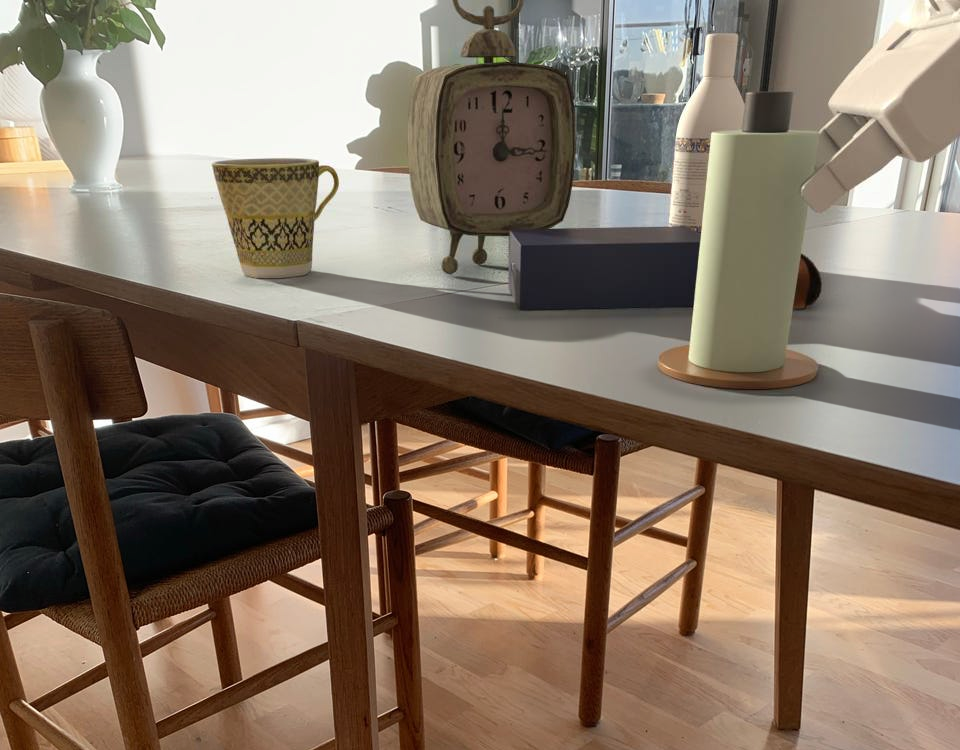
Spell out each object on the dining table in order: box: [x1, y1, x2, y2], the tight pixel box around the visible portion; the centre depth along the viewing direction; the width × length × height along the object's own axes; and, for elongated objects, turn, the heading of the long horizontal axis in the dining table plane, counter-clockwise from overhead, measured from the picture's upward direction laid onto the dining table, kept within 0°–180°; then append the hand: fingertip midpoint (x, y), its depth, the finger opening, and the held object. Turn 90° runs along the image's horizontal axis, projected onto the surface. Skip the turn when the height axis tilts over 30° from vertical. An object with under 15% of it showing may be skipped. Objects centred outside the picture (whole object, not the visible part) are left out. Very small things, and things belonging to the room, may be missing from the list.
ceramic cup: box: [211, 157, 340, 279], centre depth 93 cm, size 13×10×10 cm
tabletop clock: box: [406, 0, 577, 275], centre depth 90 cm, size 14×9×25 cm, turn 114°
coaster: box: [657, 344, 819, 390], centre depth 61 cm, size 10×10×1 cm
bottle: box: [689, 91, 819, 373], centre depth 57 cm, size 6×6×15 cm
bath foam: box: [667, 32, 745, 233], centre depth 93 cm, size 7×7×20 cm
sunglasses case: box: [792, 252, 823, 310], centre depth 84 cm, size 18×7×7 cm
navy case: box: [507, 226, 701, 311], centre depth 81 cm, size 16×10×5 cm, turn 94°
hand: (796, 194), depth 56 cm, fingers open, 8 cm apart
